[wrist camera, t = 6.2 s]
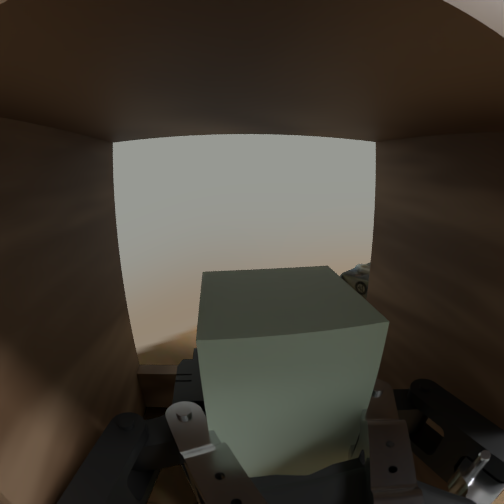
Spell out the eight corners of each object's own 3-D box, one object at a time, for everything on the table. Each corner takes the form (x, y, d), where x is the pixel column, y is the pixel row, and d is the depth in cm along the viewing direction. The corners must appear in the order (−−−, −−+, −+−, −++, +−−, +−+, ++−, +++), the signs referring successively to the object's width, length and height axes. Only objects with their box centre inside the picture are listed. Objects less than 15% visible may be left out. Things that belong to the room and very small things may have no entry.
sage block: (226, 521, 10) (196, 340, 7) (221, 450, 14) (202, 272, 12) (329, 506, 10) (389, 321, 7) (306, 441, 15) (327, 265, 12)
